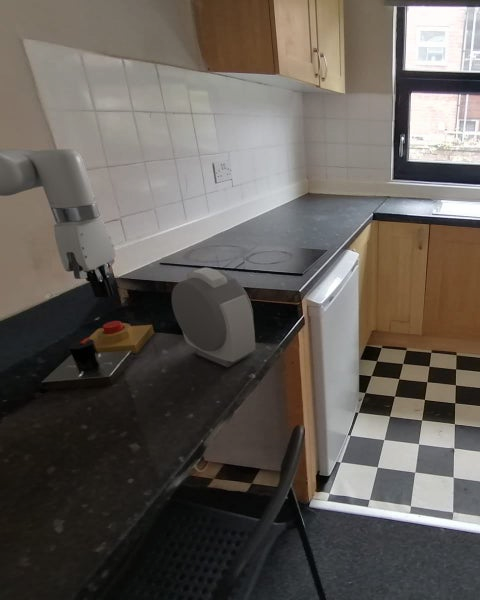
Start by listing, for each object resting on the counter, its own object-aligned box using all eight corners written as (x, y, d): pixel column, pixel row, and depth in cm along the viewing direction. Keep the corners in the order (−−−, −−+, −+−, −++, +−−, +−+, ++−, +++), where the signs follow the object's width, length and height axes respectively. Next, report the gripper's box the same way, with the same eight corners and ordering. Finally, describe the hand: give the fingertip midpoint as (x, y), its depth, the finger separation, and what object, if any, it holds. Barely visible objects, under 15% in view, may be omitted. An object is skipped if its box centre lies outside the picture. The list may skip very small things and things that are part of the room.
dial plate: (44, 390, 78) (40, 381, 78) (73, 362, 87) (70, 354, 86) (112, 384, 80) (109, 375, 79) (133, 358, 89) (131, 349, 88)
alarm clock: (264, 357, 90) (251, 272, 81) (232, 376, 83) (214, 285, 75) (212, 337, 98) (195, 258, 90) (179, 353, 91) (158, 268, 83)
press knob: (101, 335, 91) (99, 328, 91) (109, 327, 94) (107, 321, 94) (119, 334, 92) (117, 327, 91) (126, 326, 95) (124, 320, 94)
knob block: (78, 357, 89) (72, 342, 88) (101, 336, 98) (96, 321, 97) (137, 353, 91) (132, 337, 89) (154, 332, 100) (150, 318, 98)
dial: (92, 370, 81) (84, 347, 79) (72, 370, 81) (63, 347, 79) (105, 359, 85) (97, 337, 83) (86, 359, 85) (78, 337, 83)
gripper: (85, 206, 89) (110, 283, 97) (27, 222, 75) (62, 310, 83) (118, 206, 89) (141, 283, 96) (67, 222, 75) (98, 310, 83)
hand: (104, 295), depth 90 cm, fingers closed
